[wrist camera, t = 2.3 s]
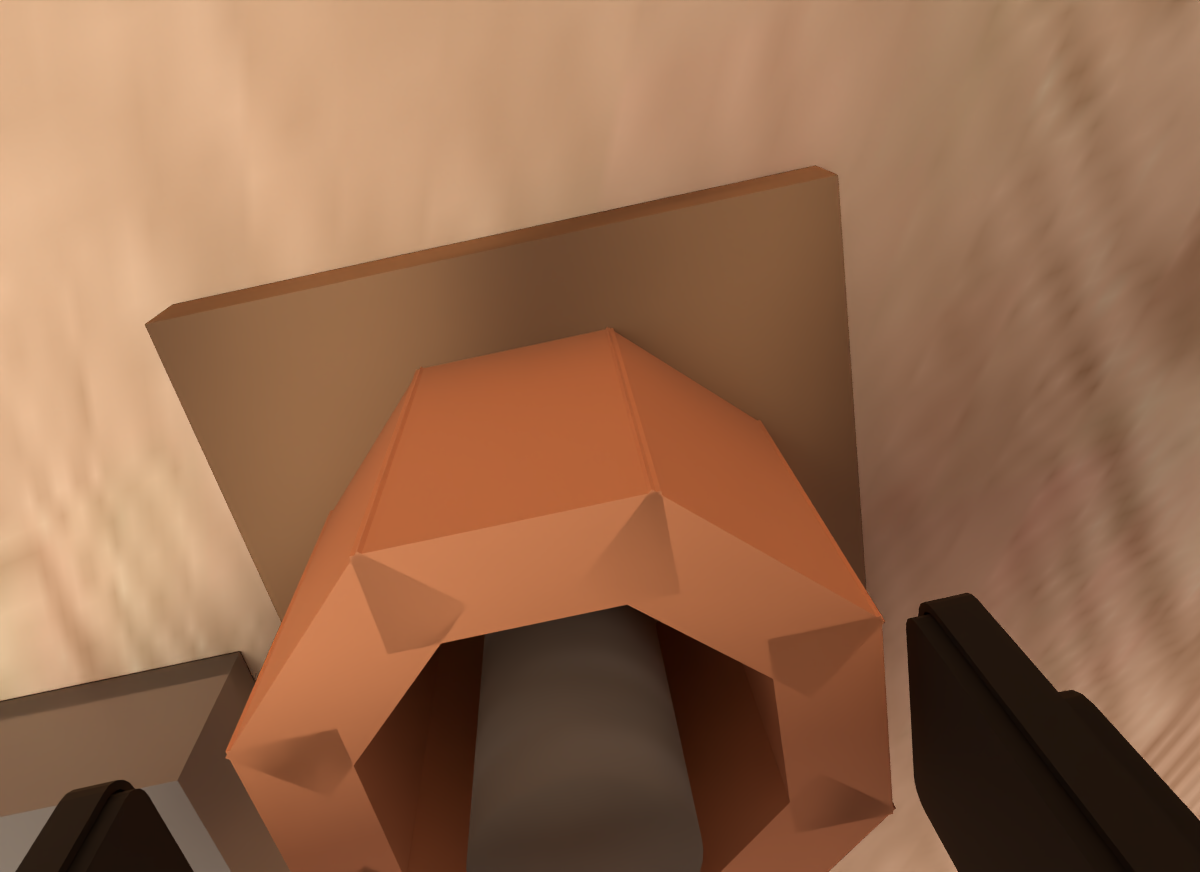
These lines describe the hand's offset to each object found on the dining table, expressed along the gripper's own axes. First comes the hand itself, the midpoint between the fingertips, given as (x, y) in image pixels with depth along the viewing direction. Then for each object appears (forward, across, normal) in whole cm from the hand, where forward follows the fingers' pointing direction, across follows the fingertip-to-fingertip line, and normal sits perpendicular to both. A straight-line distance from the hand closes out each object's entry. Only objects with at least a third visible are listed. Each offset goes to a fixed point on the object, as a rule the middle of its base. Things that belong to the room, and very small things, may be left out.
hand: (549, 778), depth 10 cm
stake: (+5, 0, -1) cm, 5 cm away
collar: (+4, 0, -1) cm, 4 cm away
